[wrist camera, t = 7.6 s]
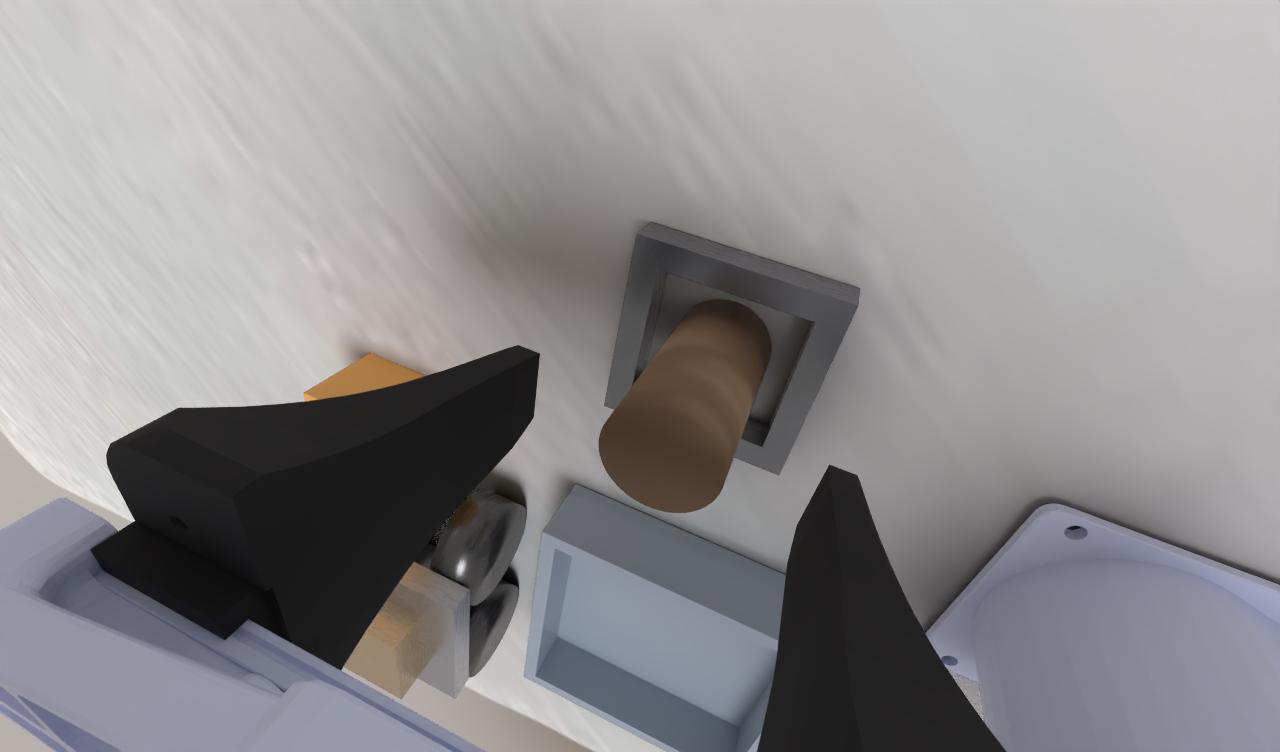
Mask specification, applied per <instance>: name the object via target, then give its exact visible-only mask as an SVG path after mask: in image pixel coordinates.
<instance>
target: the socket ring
mask: <svg viewBox="0 0 1280 752" xmlns="http://www.w3.org/2000/svg"><path fill="white" fill-rule="evenodd" d="M667 273H670V274H673V275H676V276H679V277H682V278H685V279H688V280H691V281H694V282H697V283H700V284H703V285H706V286H709V287H712V288H715V289H718V290H721V291H724V292H727V293H730V294H733V295H736V296H739V297H742V298H745V299H747V300H750V301H753V302H756V303H759V304H762V305H765V306H768V307H771V308H774V309H777V310H780V311H783V312H786V313H789V314H792V315H795V316H798V317H801V318H804V319H807V320H810V321H813V323H812V325H811V327H810V330H809V332H808V335H807V337H806V339H805V342H804V344H803V346H802V349H801V351H800V354H799V356H798V358H797V361H796V363H795V365H794V368H793V370H792V372H791V375H790V377H789V380H788V382H787V384H786V387H785V389H784V391H783V394H782V396H781V399H780V401H779V403H778V406H777V408H776V410H775V413H774V415H773V417H772V420H771V422H770V425H769V426H768V425H766V424H763V423H760V422H758V421H755V420H752V419H750V418H748V420H747V422H746V425H745V428H744V431H743V433H742V436H741V439H740V442H739V444H738V447H737V450H736V453H735V455H734V458H737V459H739V460H742V461H744V462H747V463H749V464H752V465H754V466H757V467H759V468H762V469H764V470H767V471H769V472H772V473H774V474H777V475H779V474H780V472H781V470H782V468H783V466H784V464H785V461H786V459H787V457H788V455H789V453H790V451H791V449H792V446H793V444H794V442H795V440H796V438H797V436H798V434H799V431H800V429H801V427H802V425H803V423H804V421H805V419H806V416H807V414H808V412H809V410H810V408H811V406H812V404H813V402H814V399H815V397H816V395H817V393H818V391H819V389H820V387H821V384H822V382H823V380H824V378H825V376H826V374H827V372H828V369H829V367H830V365H831V363H832V361H833V359H834V357H835V354H836V352H837V350H838V348H839V346H840V344H841V342H842V340H843V337H844V335H845V333H846V331H847V329H848V327H849V325H850V322H851V320H852V318H853V316H854V314H855V312H856V310H857V307H858V304H859V294H860V289H859V288H856V287H853V286H850V285H847V284H844V283H840V282H837V281H834V280H831V279H828V278H825V277H822V276H819V275H815V274H812V273H809V272H806V271H803V270H800V269H797V268H793V267H790V266H787V265H784V264H781V263H778V262H775V261H772V260H768V259H765V258H762V257H759V256H756V255H753V254H750V253H746V252H743V251H740V250H737V249H734V248H731V247H728V246H725V245H721V244H718V243H715V242H712V241H709V240H706V239H703V238H699V237H696V236H693V235H690V234H687V233H684V232H681V231H678V230H674V229H671V228H668V227H665V226H662V225H659V224H656V223H652V222H651V223H650V224H649V225H647V226H646V227H645V228H643V229H642V230H641V231H639V232H638V233H637V235H636V240H635V245H634V251H633V256H632V261H631V267H630V272H629V277H628V282H627V288H626V293H625V298H624V303H623V309H622V314H621V319H620V324H619V330H618V335H617V340H616V346H615V351H614V356H613V361H612V367H611V372H610V377H609V382H608V388H607V393H606V398H605V404H604V406H606V407H609V408H611V409H614V410H615V409H616V408H617V406H618V405H619V403H620V402H621V401H622V399H623V398H624V397H625V395H626V394H627V393H628V391H629V390H630V389H631V387H632V386H633V385H634V383H635V382H636V381H637V379H638V378H639V376H640V375H641V374H642V372H643V371H644V370H645V366H646V362H647V358H648V354H649V349H650V345H651V341H652V336H653V332H654V328H655V323H656V319H657V315H658V311H659V306H660V302H661V298H662V293H663V289H664V285H665V281H666V276H667Z"/></svg>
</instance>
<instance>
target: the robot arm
mask: <svg viewBox="0 0 1280 752" xmlns="http://www.w3.org/2000/svg"><path fill="white" fill-rule="evenodd" d="M539 357H540V353H537V352H535V351H532V350H529V349H527V348H524V347H521V346H519V345H517V346H514V347H510V348H507V349H504V350H501V351H498V352H496V353H493V354H490V355H487V356H484V357H482V358H479V359H476V360H473V361H470V362H467V363H464V364H462V365H459V366H456V367H453V368H450V369H447V370H444V371H441V372H438V373H434V374H431V375H428V376H424V377H421V378H418V379H414V380H411V381H408V382H404V383H401V384H397V385H393V386H389V387H385V388H381V389H376V390H371V391H366V392H362V393H357V394H351V395H346V396H339V397H332V398H326V399H319V400H312V401H305V402H296V403H286V404H276V405H262V406H246V407H211V408H177V409H175V410H174V411H172V412H170V413H168V414H166V415H164V416H162V417H160V418H158V419H156V420H154V421H153V422H151V423H149V424H147V425H145V426H143V427H141V428H139V429H137V430H135V431H134V432H132V433H130V434H128V435H126V436H124V437H122V438H120V439H118V440H116V441H115V442H113V443H111V444H110V446H109V448H108V451H107V455H106V457H107V465H108V468H109V470H110V473H111V475H112V477H113V479H114V481H115V483H116V485H117V487H118V489H119V491H120V493H121V495H122V497H123V498H124V500H125V502H126V504H127V506H128V508H129V510H130V512H131V514H132V516H133V518H134V519H135V520H136V521H134V522H133V523H131V524H130V525H128V526H126V527H125V528H123V529H122V530H120V531H119V532H118V531H117V530H116V529H115V528H114V527H113V526H112V525H111V524H110V523H109V522H108V521H106V520H105V519H103V518H102V517H100V516H98V515H96V514H94V513H93V512H91V511H89V510H87V509H85V508H84V507H82V506H80V505H78V504H76V503H74V502H73V501H71V500H69V499H67V498H58V499H56V500H54V501H53V502H51V503H49V504H47V505H45V506H43V507H42V508H40V509H38V510H36V511H35V512H33V513H31V514H29V515H27V516H25V517H23V518H22V519H20V520H18V521H16V522H14V523H13V524H11V525H9V526H7V527H5V528H4V529H2V530H0V713H2V714H3V715H4V716H6V717H7V718H9V719H10V720H12V721H13V722H14V723H16V724H17V725H19V726H20V727H22V728H23V729H24V730H26V731H27V732H29V733H30V734H31V735H33V736H34V737H36V738H37V739H38V740H40V741H41V742H43V743H44V744H45V745H47V746H48V747H49V748H51V749H52V750H54V751H55V752H486V751H484V750H482V749H481V748H479V747H477V746H475V745H473V744H472V743H470V742H468V741H466V740H464V739H462V738H461V737H459V736H457V735H455V734H454V733H452V732H450V731H448V730H447V729H445V728H443V727H441V726H439V725H438V724H435V723H434V722H432V721H430V720H429V719H427V718H425V717H423V716H421V715H419V714H418V713H416V712H414V711H412V710H411V709H409V708H407V707H405V706H403V705H402V704H400V703H398V702H396V701H394V700H393V699H391V698H389V697H387V696H385V695H383V694H382V693H380V692H378V691H376V690H375V689H373V688H371V687H369V686H367V685H366V684H364V683H362V682H360V681H358V680H357V679H355V678H353V677H351V676H349V675H348V674H346V673H344V672H342V671H341V670H342V668H343V666H344V665H345V663H346V662H347V660H348V659H349V657H350V655H351V654H352V652H353V651H354V649H355V648H356V646H357V644H358V643H359V641H360V640H361V638H362V637H363V635H364V633H365V632H366V630H367V629H368V627H369V626H370V624H371V623H372V621H373V620H374V618H375V617H376V615H377V614H378V612H379V611H380V609H381V608H382V607H383V605H384V604H385V602H386V601H387V599H388V598H389V596H390V595H391V593H392V592H393V590H394V589H395V587H396V586H397V585H398V583H399V582H400V580H401V579H402V578H403V576H404V575H405V573H406V572H407V571H408V569H409V568H410V567H411V565H412V564H413V562H414V561H415V560H416V558H417V557H418V555H419V554H420V553H421V551H422V550H423V549H424V547H425V546H426V545H427V544H428V542H429V541H430V540H431V538H432V537H433V536H434V534H435V533H436V532H437V530H438V529H439V528H440V526H441V525H442V524H443V523H444V521H445V520H446V519H447V518H448V517H449V516H450V514H451V513H452V512H453V511H454V510H455V509H456V508H457V507H458V506H459V504H460V503H461V502H462V501H463V500H464V499H465V498H466V497H467V496H468V495H469V494H470V493H471V492H472V491H473V490H474V489H475V487H476V486H477V485H478V484H479V483H480V482H481V481H482V480H483V479H484V478H485V477H486V476H487V475H488V474H489V473H490V472H491V471H492V469H493V468H494V467H495V466H496V465H497V464H498V463H499V462H500V461H501V460H502V459H503V458H504V456H505V455H506V454H507V453H508V452H509V451H510V450H511V449H512V448H513V446H514V445H515V443H516V442H517V441H518V439H519V438H520V437H521V435H522V434H523V432H524V431H525V429H526V428H527V426H528V425H529V424H530V422H531V421H532V419H533V418H534V409H535V399H536V388H537V378H538V367H539ZM1070 526H1081V528H1079V529H1076V530H1069V529H1066V528H1068V527H1070ZM947 669H948V670H951V671H953V672H955V673H957V674H960V675H962V676H964V677H967V678H969V679H971V680H973V681H976V682H978V683H979V688H980V695H981V701H982V708H983V715H984V721H983V720H982V719H981V717H980V716H979V715H978V713H977V712H976V710H975V709H974V708H973V706H972V705H971V704H970V702H969V701H968V699H967V698H966V696H965V695H964V693H963V692H962V690H961V689H960V688H959V686H958V685H957V683H956V682H955V680H954V679H953V677H952V676H951V674H950V673H949V671H948V670H947ZM984 722H985V723H984ZM757 752H1280V585H1278V584H1276V583H1273V582H1270V581H1267V580H1265V579H1262V578H1259V577H1257V576H1254V575H1251V574H1249V573H1246V572H1243V571H1240V570H1238V569H1235V568H1232V567H1230V566H1227V565H1224V564H1222V563H1219V562H1216V561H1213V560H1211V559H1208V558H1205V557H1203V556H1200V555H1197V554H1195V553H1192V552H1189V551H1186V550H1184V549H1181V548H1178V547H1176V546H1173V545H1170V544H1168V543H1165V542H1162V541H1160V540H1157V539H1154V538H1151V537H1149V536H1146V535H1143V534H1141V533H1138V532H1135V531H1133V530H1130V529H1127V528H1124V527H1122V526H1119V525H1116V524H1114V523H1111V522H1108V521H1106V520H1103V519H1100V518H1097V517H1095V516H1092V515H1089V514H1087V513H1084V512H1081V511H1079V510H1076V509H1073V508H1070V507H1068V506H1065V505H1061V504H1046V505H1043V506H1040V507H1039V508H1037V509H1036V510H1035V511H1034V512H1033V513H1032V514H1031V515H1030V517H1029V518H1028V519H1027V520H1026V521H1025V522H1024V523H1023V524H1022V526H1021V527H1020V528H1019V529H1018V530H1017V531H1016V532H1015V533H1014V534H1013V536H1012V537H1011V538H1010V539H1009V540H1008V541H1007V542H1006V543H1005V545H1004V546H1003V547H1002V548H1001V549H1000V550H999V551H998V552H997V554H996V555H995V556H994V557H993V558H992V559H991V560H990V561H989V562H988V564H987V565H986V566H985V567H984V568H983V569H982V570H981V571H980V573H979V574H978V575H977V576H976V577H975V578H974V579H973V580H972V582H971V583H970V584H969V585H968V586H967V587H966V588H965V589H964V590H963V592H962V593H961V594H960V595H959V596H958V597H957V598H956V599H955V601H954V602H953V603H952V604H951V605H950V606H949V607H948V608H947V610H946V611H945V612H944V613H943V614H942V615H941V616H940V617H939V619H938V620H937V621H936V622H935V623H934V624H933V625H932V626H931V627H930V629H929V630H928V631H927V632H926V633H925V632H924V630H923V629H922V627H921V625H920V623H919V622H918V620H917V618H916V616H915V615H914V613H913V611H912V609H911V607H910V605H909V603H908V601H907V599H906V597H905V595H904V593H903V591H902V588H901V586H900V584H899V582H898V580H897V578H896V576H895V573H894V571H893V569H892V567H891V564H890V562H889V560H888V557H887V555H886V552H885V550H884V547H883V545H882V543H881V540H880V538H879V535H878V532H877V530H876V527H875V524H874V522H873V519H872V516H871V513H870V510H869V507H868V505H867V502H866V499H865V496H864V493H863V489H862V486H861V483H860V481H859V478H858V476H857V475H855V474H852V473H850V472H847V471H844V470H842V469H839V468H837V467H834V466H831V465H829V466H828V468H827V470H826V472H825V474H824V476H823V478H822V479H821V481H820V483H819V485H818V487H817V489H816V491H815V493H814V494H813V496H812V498H811V500H810V502H809V504H808V506H807V508H806V509H805V511H804V513H803V515H802V517H801V519H800V521H799V522H798V524H797V527H796V531H795V535H794V539H793V543H792V547H791V551H790V555H789V559H788V564H787V570H786V578H785V587H784V595H783V604H782V613H781V622H780V631H779V640H778V649H777V658H776V664H775V671H774V677H773V682H772V687H771V691H770V696H769V700H768V705H767V709H766V714H765V719H764V723H763V727H762V732H761V736H760V740H759V745H758V749H757Z"/></svg>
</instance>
